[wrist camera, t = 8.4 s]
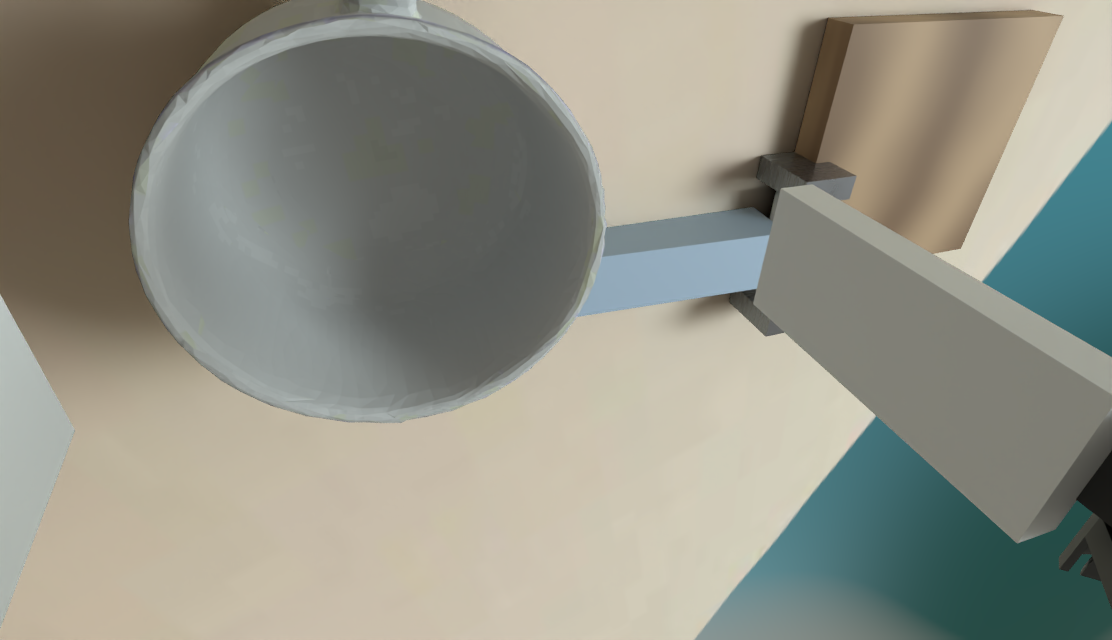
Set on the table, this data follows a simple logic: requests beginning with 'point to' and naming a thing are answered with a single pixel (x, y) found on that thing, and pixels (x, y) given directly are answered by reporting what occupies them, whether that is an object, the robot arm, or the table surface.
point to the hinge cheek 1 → (753, 312)
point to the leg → (680, 259)
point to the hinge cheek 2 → (805, 174)
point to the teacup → (366, 212)
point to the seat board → (922, 112)
